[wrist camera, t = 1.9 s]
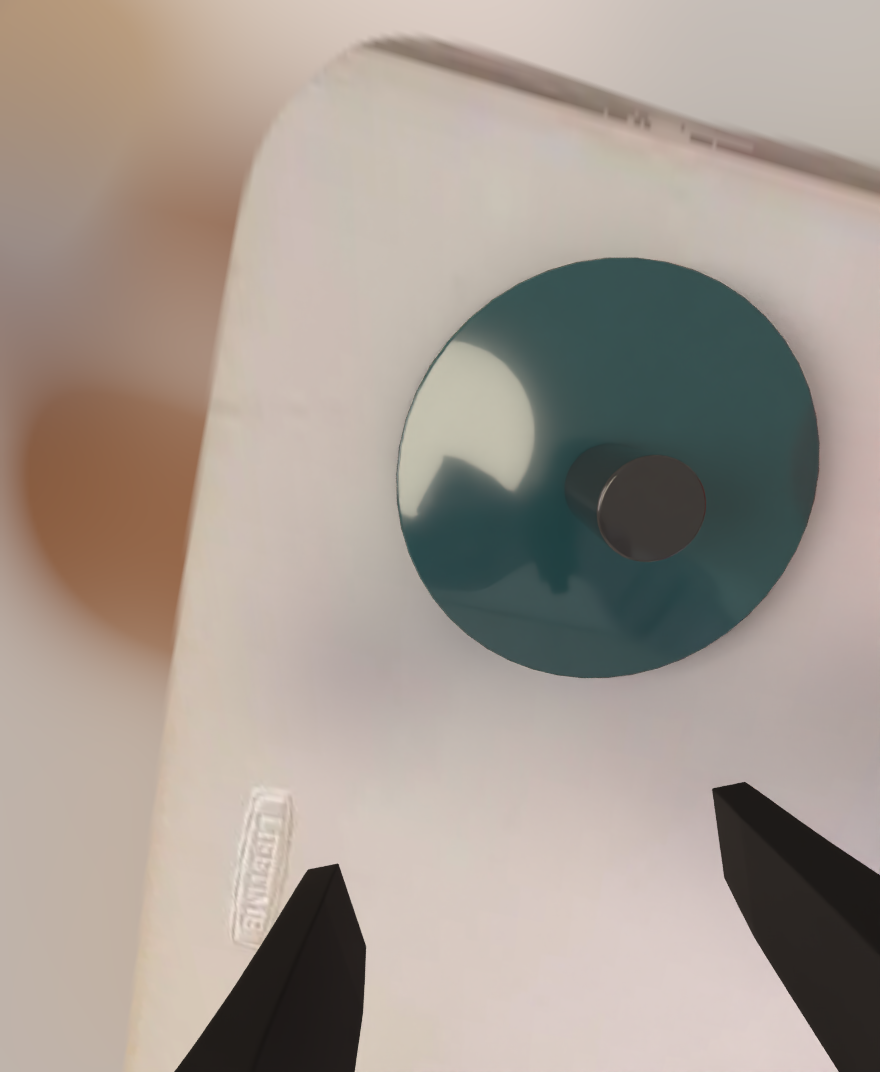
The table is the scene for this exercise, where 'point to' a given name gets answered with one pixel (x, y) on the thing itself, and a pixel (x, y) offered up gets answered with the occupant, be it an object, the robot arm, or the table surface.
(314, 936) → the robot arm
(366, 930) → the table surface
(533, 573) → the lid
